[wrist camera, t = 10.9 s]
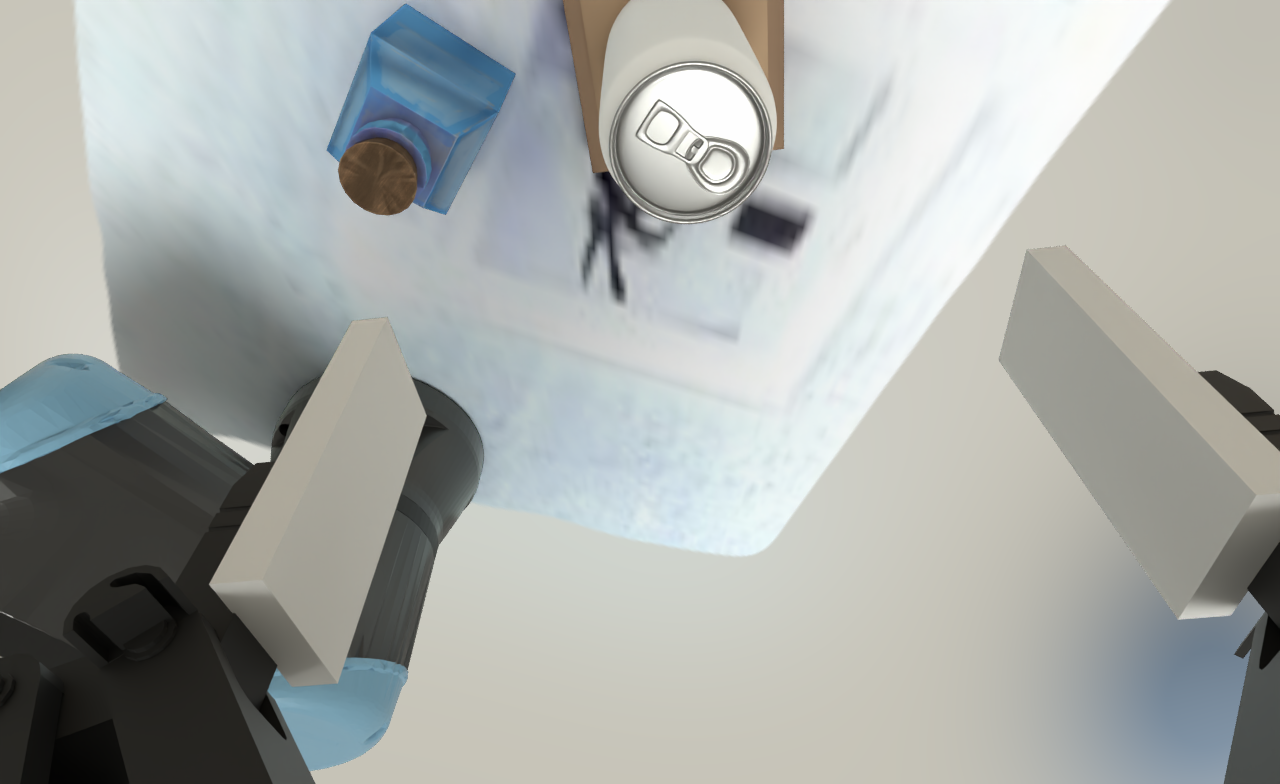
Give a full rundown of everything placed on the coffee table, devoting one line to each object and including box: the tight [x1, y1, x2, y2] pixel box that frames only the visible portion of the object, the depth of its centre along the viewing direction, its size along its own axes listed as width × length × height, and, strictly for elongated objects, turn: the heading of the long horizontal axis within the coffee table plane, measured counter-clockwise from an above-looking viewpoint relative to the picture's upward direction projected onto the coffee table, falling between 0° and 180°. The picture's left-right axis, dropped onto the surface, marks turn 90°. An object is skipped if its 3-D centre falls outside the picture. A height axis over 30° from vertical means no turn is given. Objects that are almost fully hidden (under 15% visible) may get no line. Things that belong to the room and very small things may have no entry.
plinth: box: [563, 0, 784, 173], centre depth 35 cm, size 10×10×4 cm
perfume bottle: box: [327, 4, 515, 215], centre depth 34 cm, size 6×6×12 cm
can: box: [599, 0, 777, 224], centre depth 29 cm, size 6×6×12 cm
